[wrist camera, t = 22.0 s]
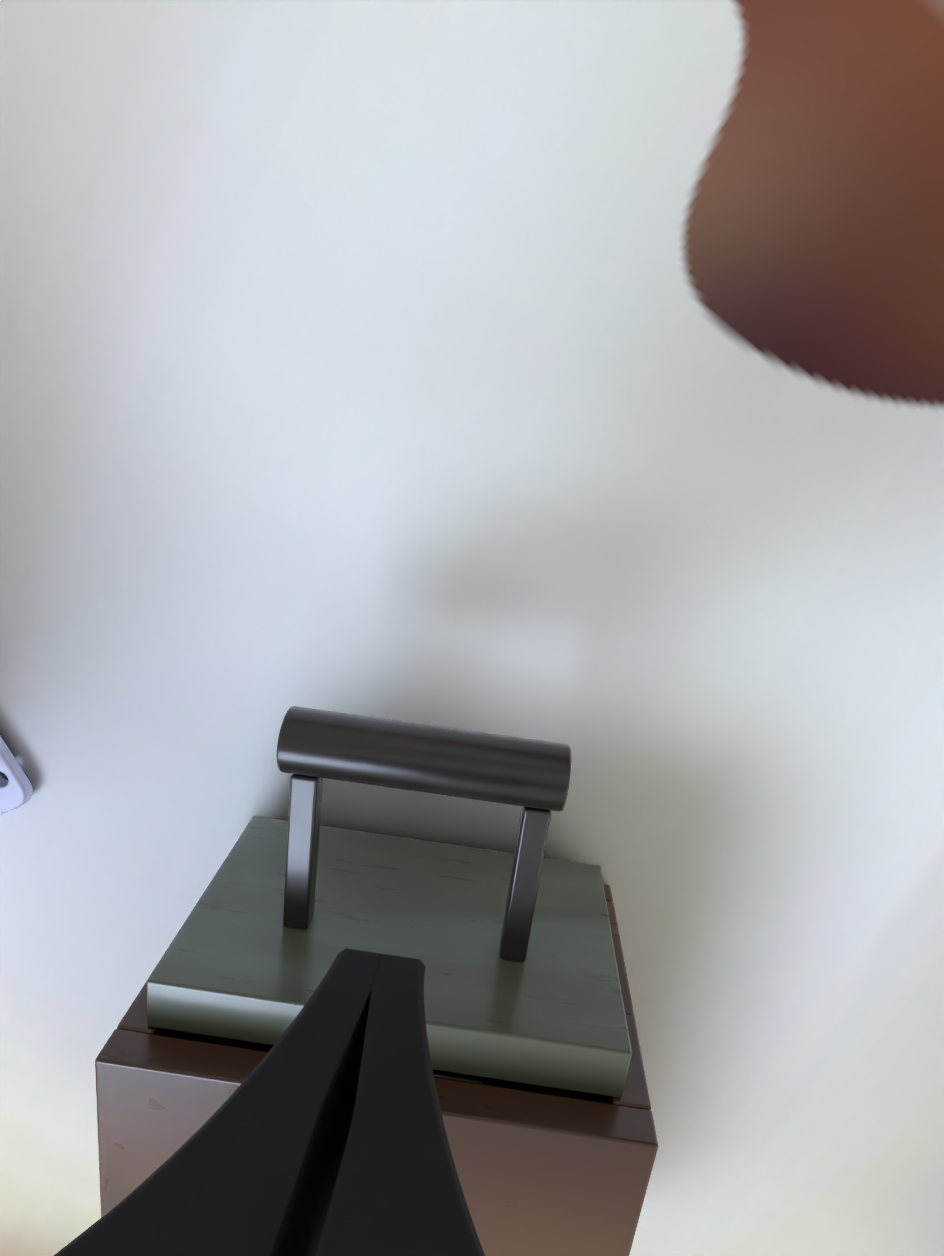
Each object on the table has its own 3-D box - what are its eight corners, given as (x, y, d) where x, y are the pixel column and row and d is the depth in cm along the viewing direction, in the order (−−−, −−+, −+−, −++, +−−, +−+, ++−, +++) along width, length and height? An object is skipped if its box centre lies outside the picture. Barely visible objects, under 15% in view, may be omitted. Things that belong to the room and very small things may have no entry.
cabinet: (242, 830, 22) (93, 1060, 14) (610, 884, 22) (659, 1146, 14) (231, 1162, 26) (110, 1480, 18) (541, 1210, 26) (550, 1553, 18)
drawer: (260, 638, 19) (142, 745, 13) (636, 690, 19) (688, 822, 13) (240, 1140, 25) (150, 1379, 19) (534, 1186, 24) (539, 1442, 18)
